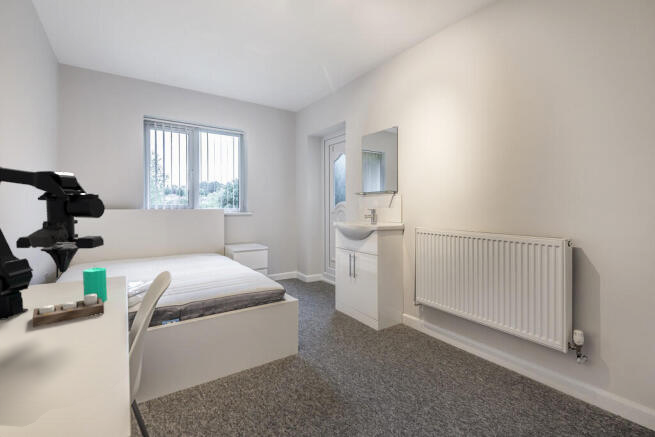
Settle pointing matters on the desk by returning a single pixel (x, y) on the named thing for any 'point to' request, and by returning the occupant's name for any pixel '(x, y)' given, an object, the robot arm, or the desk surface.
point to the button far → (90, 299)
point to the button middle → (69, 305)
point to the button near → (46, 309)
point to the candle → (95, 282)
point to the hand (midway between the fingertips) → (63, 271)
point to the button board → (67, 313)
